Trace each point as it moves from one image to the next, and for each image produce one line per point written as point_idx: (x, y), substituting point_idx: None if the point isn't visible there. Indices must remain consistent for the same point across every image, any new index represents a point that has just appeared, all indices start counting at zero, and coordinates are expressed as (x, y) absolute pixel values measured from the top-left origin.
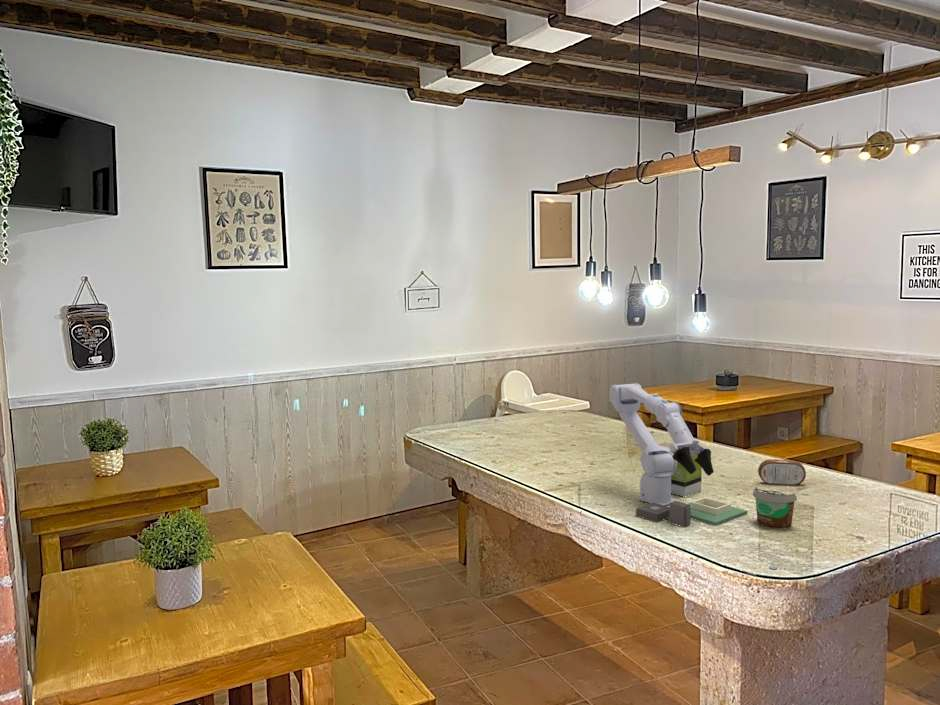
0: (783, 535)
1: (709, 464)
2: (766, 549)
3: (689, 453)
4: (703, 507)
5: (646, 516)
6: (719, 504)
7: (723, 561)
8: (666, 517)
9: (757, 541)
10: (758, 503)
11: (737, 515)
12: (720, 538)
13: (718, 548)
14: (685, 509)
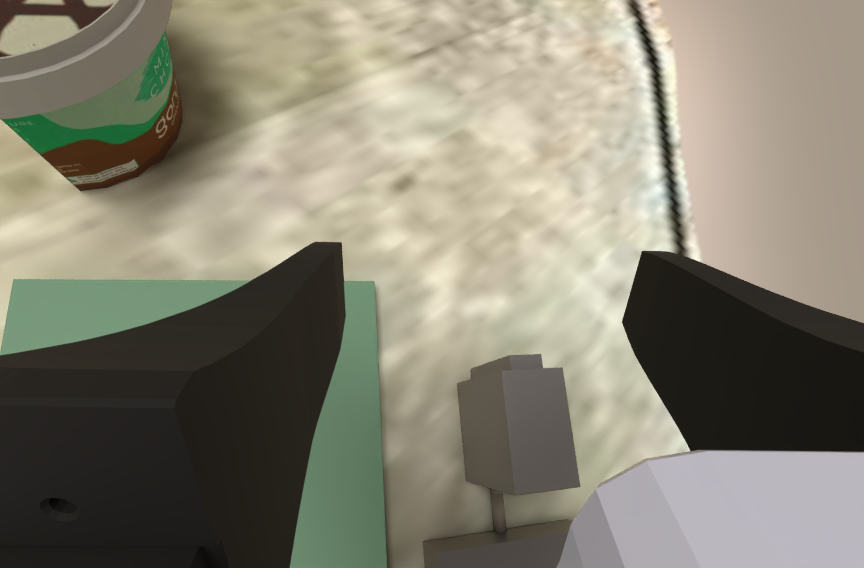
0: (241, 23)
1: (313, 283)
2: (438, 20)
3: (862, 345)
4: None
5: None
6: None
7: (631, 78)
8: (503, 526)
9: (394, 71)
10: (142, 77)
11: (147, 281)
12: (484, 184)
13: (567, 138)
14: (538, 367)
